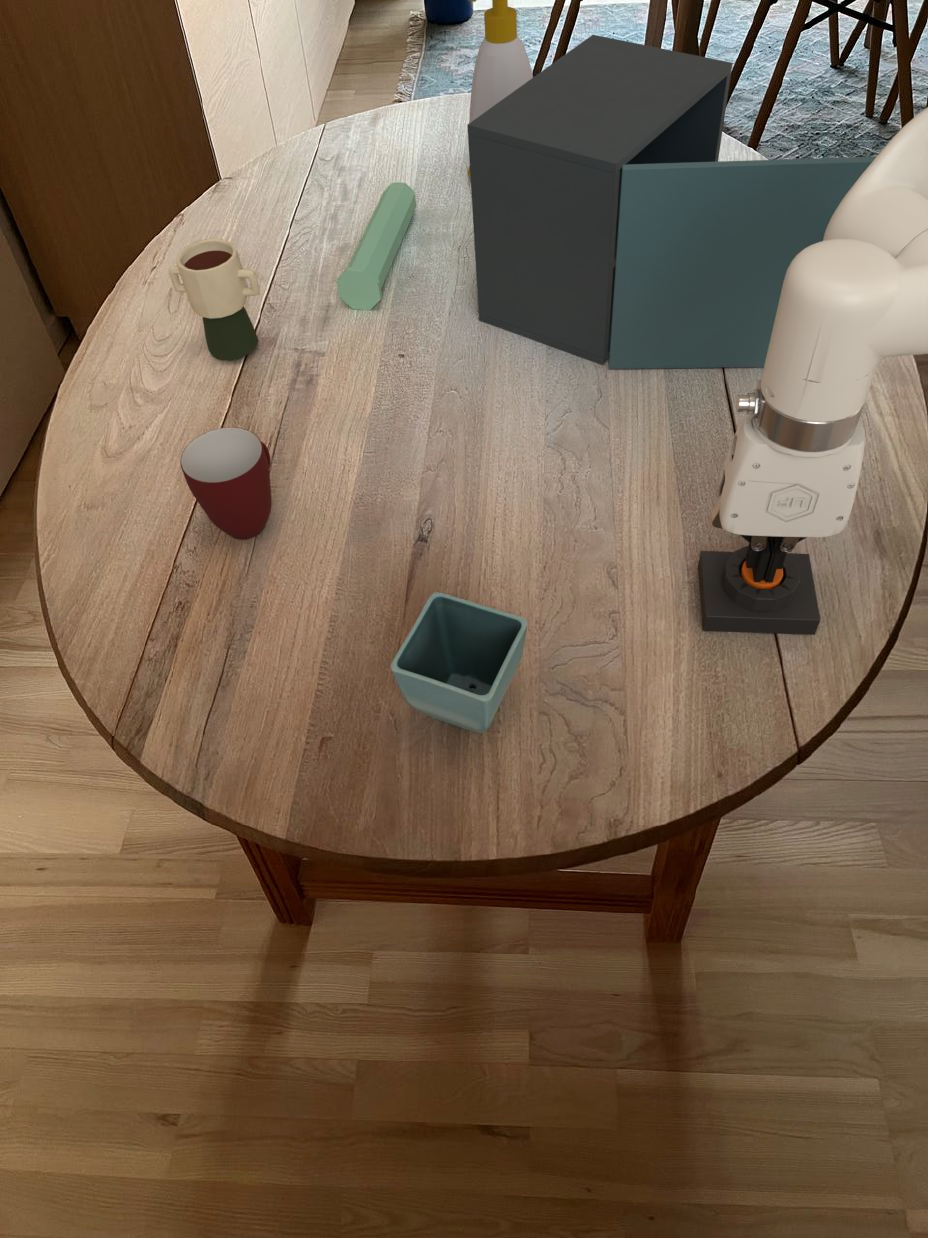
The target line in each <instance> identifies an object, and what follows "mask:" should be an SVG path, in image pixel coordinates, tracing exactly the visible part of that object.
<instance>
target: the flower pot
mask: <svg viewBox="0 0 928 1238" xmlns="http://www.w3.org/2000/svg"><path fill="white" fill-rule="evenodd" d="M528 623H529V622H528V619H527V618H526V617H522V616H521V615H517V614H513V613H510V612H506V611H503V610H500V609H496V608H493V607H490V606H486V605H483V604H480V603H478V602H477V603H476V602H473V601H469V600H467V599H464V598H461V597H457V596H453V595H451V594H448V593H445V592H439V591H434V592H433V593H431V595H430V596H429V597H428V599H427V601H426V603H425V604H424V606H423V607H422V610H421V612H420V614H419V615H418V617H417V619H416V620H415V622H414V623H413V626H412V627H411V629H410V631H409V633H408V634H407V636H406V638H405V639H404V641H403V643H402V644H401V646H400V648H398V651H397V653H396V654H395V656H394V658H393V659H392V661H391V663H390V666H389V667H390V671H391V672H392V675H393V677H394V680H395V682H396V685H397V687H398V689H399V691H400V693H401V695H402V697H403V699H404V700H405V701H406V703H408V705H410V707H412V708H413V709H415V710H416V711H417V712H419V713H422V714H423V715H425V716H427V717H429V718H432V719H434V720H438V721H440V722H443V723H445V724H446V723H447V724H450V725H453V726H456V727H458V728H461V729H463V730H466V731H469V732H472V733H476V734H483V733H485V732H486V731H487V730H489V728H490V726H491V724H492V722H493V721H494V718H495V716H496V713H497V711H498V709H499V707H500V705H501V703H502V701H503V698H504V697H505V695H506V692H507V691H508V688H509V687H510V684H511V682H512V680H513V678H514V676H515V675H516V672H517V670H518V668H519V666H520V663H521V660H522V658H523V654H524V653H523V652H524V647H525V641H526V636H527V632H528V631H527V630H528ZM471 687H474V689H471Z"/></svg>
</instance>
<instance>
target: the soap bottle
mask: <svg viewBox="0 0 928 1238" xmlns="http://www.w3.org/2000/svg"><path fill="white" fill-rule="evenodd" d="M468 1H469V2H473V3H476V2H477V0H468ZM491 2H492V3H491V4H492V5H491V6H492V7H490V8H488V9H486V10H484V13H483V16H484V17H483V20H484V38H483V40H482V41H481V43H480V45H479V48H478V51H477V55H476V59H475V63H474V68H473V74H472V79H471V81H472V82H471V90H470V99H469V100H470V102H469V118H468V119H469V120H468V124H469V123H471V122H472V121H473V120H475V119H476V118H477V117H479V116H480V115H482V114H483V113H484V112H486V111H487V110H489V109H490V108H491V107H493V106H494V105H496V104H497V103H498V102H500V101H501V100H503V99H504V98H505V97H507V96H508V95H510V94H511V93H512V92H514V91H515V90H516V89H518V88H519V87H521V86H522V85H523V84H525V83H526V82H528V81H529V80H530V79H532V78H533V77H534V76H533V70H532V67H531V63H530V59H529V55H528V52H527V49H526V48H525V44H524V42H522V40H521V38H520V37H519V36H518V20H517V19H518V18H517V9H516V8H515V7H512V6H509V4H508V0H491ZM467 175H468V177H469V179H470V180H471V178H470V165H469V166H468V170H467Z"/></svg>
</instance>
